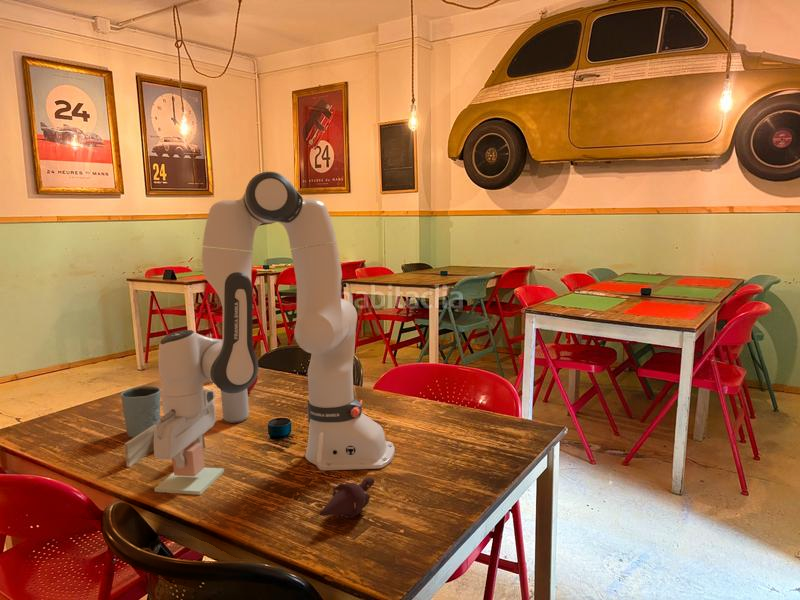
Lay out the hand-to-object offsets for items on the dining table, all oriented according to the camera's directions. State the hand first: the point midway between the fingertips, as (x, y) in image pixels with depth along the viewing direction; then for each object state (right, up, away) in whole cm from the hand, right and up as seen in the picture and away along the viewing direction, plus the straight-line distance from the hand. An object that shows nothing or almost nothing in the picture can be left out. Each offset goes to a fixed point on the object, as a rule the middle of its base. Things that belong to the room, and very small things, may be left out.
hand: (189, 460), depth 128 cm
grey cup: (-24, -1, +31) cm, 39 cm away
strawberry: (-4, +5, +63) cm, 64 cm away
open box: (-11, -3, +15) cm, 18 cm away
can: (-1, +1, +39) cm, 39 cm away
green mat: (0, -5, +1) cm, 5 cm away
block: (0, -3, 0) cm, 3 cm away
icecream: (+38, -7, -15) cm, 41 cm away
